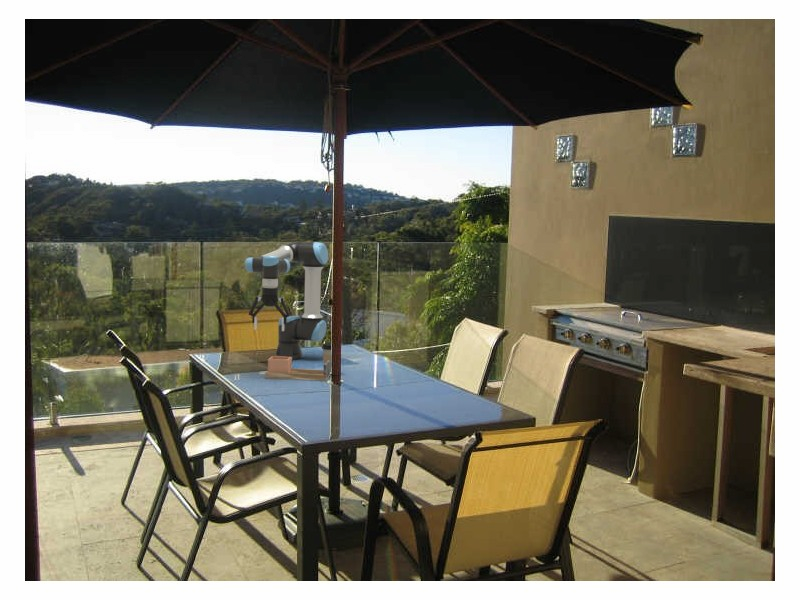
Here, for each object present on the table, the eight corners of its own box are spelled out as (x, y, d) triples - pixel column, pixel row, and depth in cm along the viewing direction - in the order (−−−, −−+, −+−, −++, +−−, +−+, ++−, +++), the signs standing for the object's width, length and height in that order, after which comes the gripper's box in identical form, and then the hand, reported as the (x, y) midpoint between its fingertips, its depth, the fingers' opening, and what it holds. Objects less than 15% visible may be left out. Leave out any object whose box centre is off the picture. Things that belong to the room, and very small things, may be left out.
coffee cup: (341, 372, 423) (341, 343, 421) (337, 375, 413) (338, 346, 412) (322, 371, 424) (323, 342, 422) (319, 374, 414) (319, 345, 413)
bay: (270, 373, 414) (271, 357, 413) (329, 376, 411) (330, 360, 411) (264, 378, 402) (265, 362, 401) (325, 381, 400) (326, 364, 399)
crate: (272, 371, 412) (272, 356, 411) (291, 372, 411) (292, 356, 410) (267, 374, 403) (268, 359, 403) (287, 375, 403) (288, 360, 402)
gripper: (243, 286, 400) (242, 330, 403) (294, 288, 399) (293, 332, 401) (246, 285, 408) (246, 328, 410) (296, 287, 407) (295, 330, 409)
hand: (269, 330), depth 406 cm, fingers open, 13 cm apart
